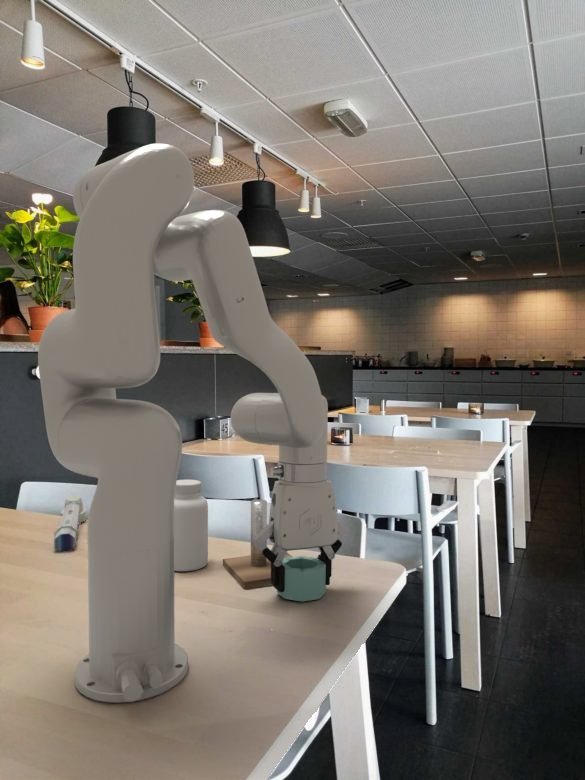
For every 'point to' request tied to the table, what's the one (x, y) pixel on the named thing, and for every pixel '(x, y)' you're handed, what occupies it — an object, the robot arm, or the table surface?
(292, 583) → the ring
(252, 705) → the table surface
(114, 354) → the robot arm
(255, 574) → the board
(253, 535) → the grey metal peg
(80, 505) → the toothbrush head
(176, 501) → the pill bottle
